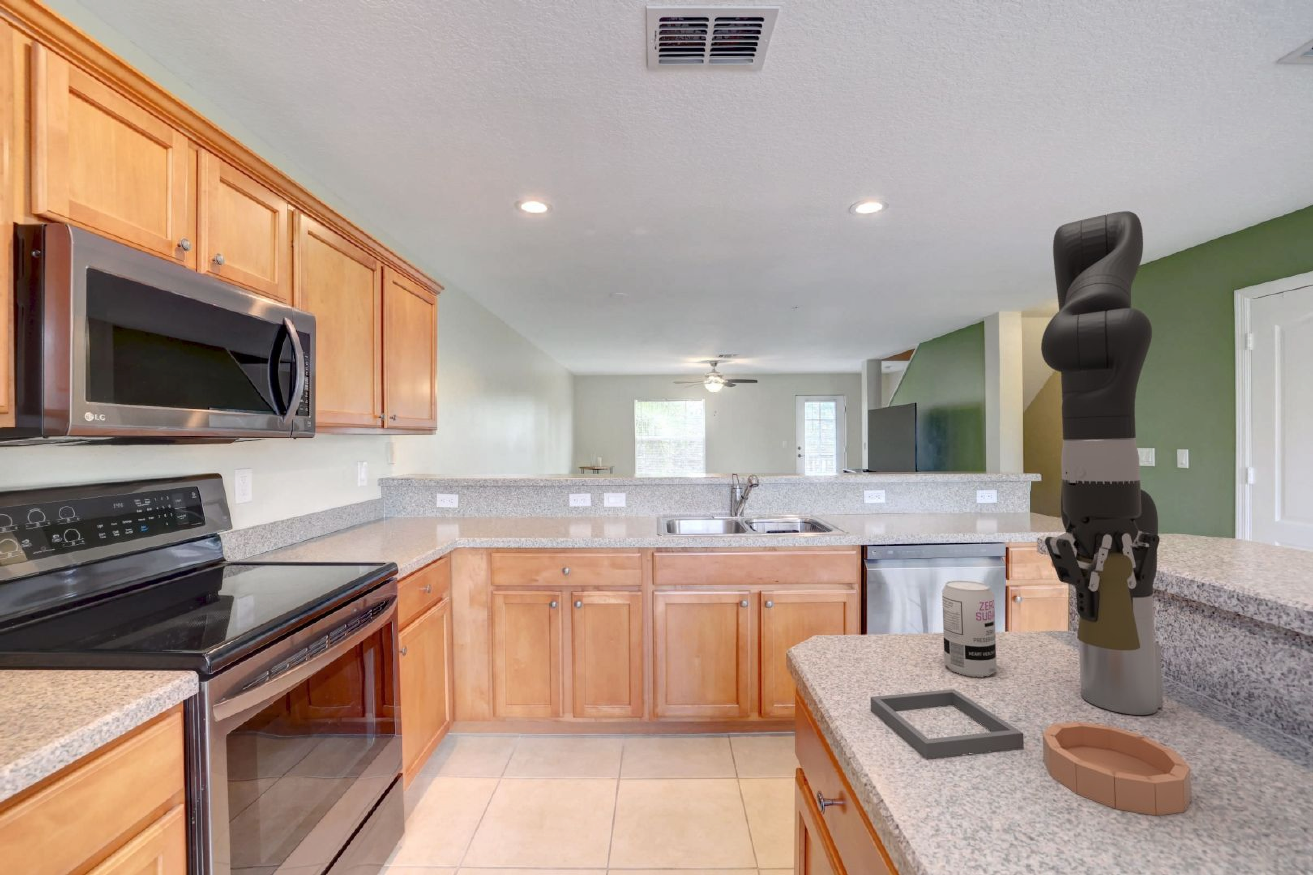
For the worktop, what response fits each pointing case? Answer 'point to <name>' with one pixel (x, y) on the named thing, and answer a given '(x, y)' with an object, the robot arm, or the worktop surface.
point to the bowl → (1117, 768)
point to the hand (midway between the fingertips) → (1105, 618)
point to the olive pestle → (1112, 607)
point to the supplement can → (969, 628)
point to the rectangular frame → (995, 740)
